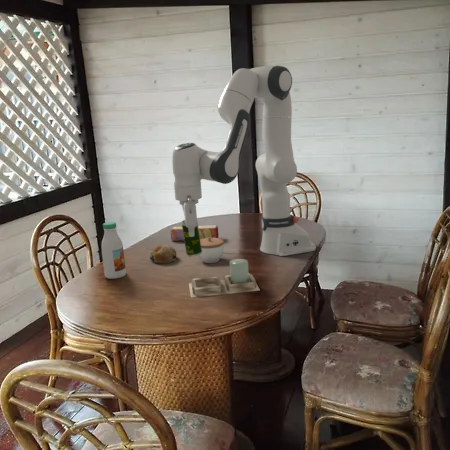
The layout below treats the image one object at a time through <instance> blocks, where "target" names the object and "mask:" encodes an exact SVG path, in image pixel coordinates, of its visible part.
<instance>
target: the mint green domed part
mask: <svg viewBox="0 0 450 450" xmlns="http://www.w3.org/2000/svg"><path fill="white" fill-rule="evenodd" d="M229 275H230V279H231V284H239V283H249V261H248V260H247V259H244V258H235V259H231V260H229Z"/></svg>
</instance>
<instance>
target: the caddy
mask: <svg viewBox="0 0 450 450" xmlns="http://www.w3.org/2000/svg"><path fill="white" fill-rule="evenodd" d="M188 287H189V293H190V294H189V295H190V298H198V297H199V298H200V297H208V296H218V295H229V294H238V293H249V292H250V293H251V292H257V291H260V290H261V289H260V288H259V286H258V284H257V282H256V279H255V277H254V276H253V274H252V273H249V283H239V284H231V279H230V274H228V275H227V274H226V275H225V276H224V277H223V279H221V278H220V277H218V276H208V277H207V276H206V277H197V278H192V279H191V280H190V282H189V283H188Z"/></svg>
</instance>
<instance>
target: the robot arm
mask: <svg viewBox="0 0 450 450" xmlns="http://www.w3.org/2000/svg"><path fill="white" fill-rule="evenodd" d="M292 87H293V77H292V74H291V72H290V70H289V68H287V67H285V66H281V65H263V66H257V67H253V68H252V67H249V68H244V67H242V68H239V69H237V70H236V71H234V72H233V74H232V75H231V77H230V79H229V80H228V81H227V83H226V84H225V87H224V89H223V91H222V92H221V95H220V97H219V99H218V104H217V111H218V114H219V116H220V118H222V120H224V121H225V122H226V123H227V124H228V125H230V129H229V132H228V136H227V140H226V143H225V145H224V148H223V149H222V150H221V151H218V152H217V151H210V150H206V149H203V148H201V147H200V146H198V145H197V143H194V142H187V143H182V144H178V145H176V147H174V148H173V152H172V157H171V158H172V160H171V161H172V173H173V176H174V183H173V185H174V186H173V188H174V197H175V198H174V199H175V201H179V205H180V206H181V207H182V212H183V217H184V220H185V223H186V227H188V230H189V236H190V237H194V235H195V234H194V228H195V227H196V226H197V223H198V215H197V204H199V200H200V199H202V197H203V194H202V180H206V181H211V182H217V183H220V184H222V185H223V184H225V185H227V184H231V183H232V182H233V181H234V180H235V179H236V178H237V176H238V175H239V171H240V166H241V159H242V154H243V150H244V148H245V144H246V140H247V138H248V135H249V134H248V133H249V131H250V126H251V115H250V111H251V108H252V105H253V103H254V100H255V99H262V100H263V101H262V102H263V108H262V123H261V125H262V127H261V128H262V130H261V135H262V136H261V138H262V142H263V144H264V145H263V146H264V150H265V151H264V153H262V154H260V155H259V156H258V157H257V159H256V160H255V170H256V173H257V177H258V183H259V188H260V193H261V201H262V202H261V203H262V207H261V208H262V215H261V229H262V237H261V243H260V247H259V250H260V252H262V253H264V254H269V255H276V256H280V257H284V256H291V255H297V254H298V255H299V254H303V253H304V254H305V253H311V252H315V251H316V250H317V246H316V244H315V243H314V242H312V241H311V239H310V235H309V233H308V232H307V231H306V230H305V229H303V228H302V227H301V226H300V225H298V224H296V223H298V222H299V218H298V217H297V216H294V215H293V214H291V195H290V193H289V190H288V187H287V184H289V183H291V182H293V180H294V179H295V177H297V173H298V166H297V164H296V162H295V157H294V152H293V144H292V119H293V118H292V117H293V116H292V115H293V114H292V113H293V111H292V109H293V108H292V107H293V106H292V99H291V98H292V97H291V92H290V91H291V90H292Z"/></svg>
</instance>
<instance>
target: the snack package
mask: <svg viewBox="0 0 450 450" xmlns="http://www.w3.org/2000/svg"><path fill="white" fill-rule="evenodd" d="M198 230H199V236H200V239H204V238H208V237H211V238H219V235H220V234H219V227H218V225H215V224H213V225H198ZM170 239H171V241H172V242H184V236H183V230H182V226H173V227H172V228H171V230H170Z"/></svg>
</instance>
